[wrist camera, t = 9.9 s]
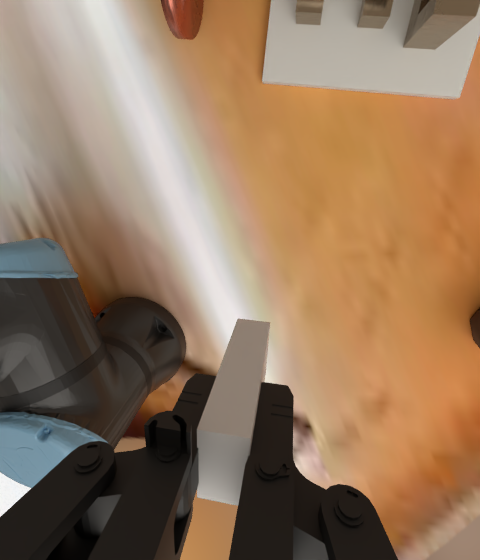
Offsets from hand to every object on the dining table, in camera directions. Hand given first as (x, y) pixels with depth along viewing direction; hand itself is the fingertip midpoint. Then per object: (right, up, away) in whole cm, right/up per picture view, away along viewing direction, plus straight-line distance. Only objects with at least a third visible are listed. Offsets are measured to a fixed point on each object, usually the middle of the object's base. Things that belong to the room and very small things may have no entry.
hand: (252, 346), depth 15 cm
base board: (+13, +30, +17) cm, 36 cm away
